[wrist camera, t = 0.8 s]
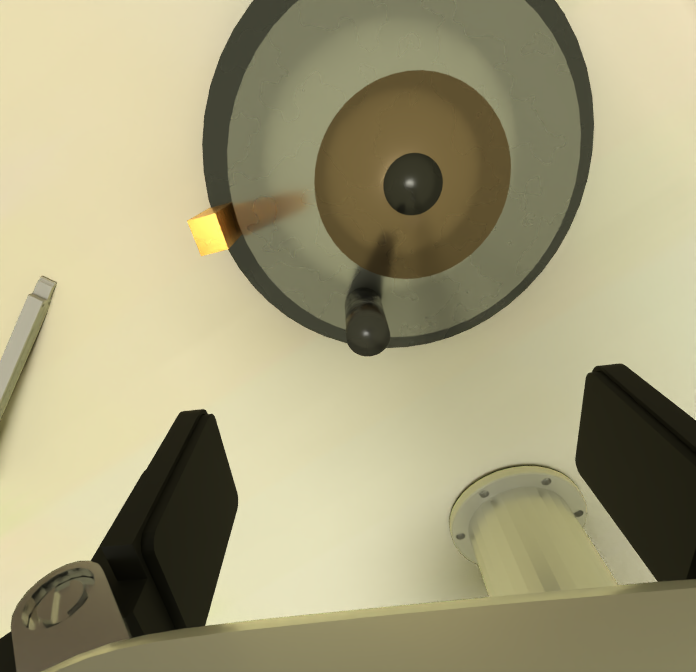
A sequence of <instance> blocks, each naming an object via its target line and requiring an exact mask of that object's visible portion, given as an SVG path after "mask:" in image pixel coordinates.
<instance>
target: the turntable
mask: <svg viewBox="0 0 696 672" xmlns="http://www.w3.org/2000/svg"><path fill="white" fill-rule="evenodd" d="M580 141H581V128H580V114H579V105H578V100H577V96H576V91H575V86H574V82H573V79H572V76H571V73H570V70H569V67H568V65H567V62H566V59H565V57H564V55H563V53H562V51H561V49H560V47H559V45H558V43H557V41H556V39H555V37H554V35H553V34H552V32H551V31H550V30H549V28H548V27H547V26H546V24H545V23H544V21H543V20H542V19H541V17H540V16H539V15H538V13H537V12H536V11H535V10H534V9H533V8H532V7H531V6H530V5H529V4H528V3H527V2H526V1H525V0H298V1H297V2H296V3H295V4H293V5H292V6H291V7H290V8H289V9H288V11H287V12H286V13H285V14H284V15H283V16H282V17H281V18H280V19H279V20H278V21H277V22H276V23H275V25H274V26H273V27H272V28H271V30H270V31H269V33H268V34H267V36H266V37H265V38H264V40H263V41H262V43H261V44H260V46H259V47H258V48H257V50H256V52H255V54H254V56H253V58H252V60H251V62H250V64H249V66H248V68H247V70H246V72H245V74H244V76H243V79H242V82H241V85H240V87H239V90H238V93H237V96H236V99H235V103H234V107H233V112H232V116H231V121H230V125H229V136H228V147H227V163H228V180H229V186H230V193H231V199H232V203H233V207H234V210H235V214H236V217H237V221H238V224H239V226H240V229H241V231H242V233H243V236H244V238H245V240H246V243H247V245H248V246H249V248H250V250H251V252H252V253H253V255H254V257H255V259H256V260H257V262H258V264H259V265H260V266H261V268H262V269H263V270H264V272H265V273H266V274H267V276H268V277H269V278H270V280H271V281H272V282H273V283H274V284H275V285H276V286H277V287H278V288H279V289H280V290H281V291H282V292H283V293H284V294H285V295H286V296H287V297H288V298H290V299H291V300H292V301H293V302H295V303H296V304H297V305H298V306H300V307H301V308H302V309H304V310H306V311H307V312H309V313H310V314H312V315H314V316H315V317H317V318H319V319H321V320H323V321H325V322H327V323H330V324H332V325H334V326H336V327H339V328H342V329H346V338H347V343H348V345H349V347H350V348H351V350H352V351H354V352H355V353H357V354H359V355H362V356H373V355H377V354H379V353H381V352H382V351H383V350H384V349H385V348H386V347H387V345H388V344H389V341H390V337H406V336H416V335H422V334H428V333H433V332H436V331H440V330H443V329H446V328H450V327H453V326H455V325H457V324H460V323H462V322H464V321H467V320H469V319H471V318H473V317H475V316H476V315H478V314H480V313H482V312H483V311H485V310H487V309H488V308H490V307H491V306H493V305H494V304H495V303H497V302H498V301H500V300H501V299H502V298H504V297H505V296H506V295H507V294H508V293H509V292H511V291H512V290H513V289H514V288H515V287H516V286H517V285H518V284H519V283H521V281H522V280H523V279H524V278H525V277H526V276H527V275H528V274H529V273H530V271H531V270H532V269H533V268H534V267H535V266H536V264H537V263H538V261H539V260H540V259H541V257H542V256H543V254H544V253H545V252H546V250H547V249H548V247H549V246H550V244H551V242H552V240H553V238H554V237H555V235H556V233H557V231H558V229H559V228H560V225H561V223H562V221H563V218H564V216H565V213H566V211H567V209H568V206H569V203H570V200H571V196H572V193H573V189H574V186H575V183H576V177H577V171H578V165H579V159H580Z"/></svg>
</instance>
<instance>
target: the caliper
mask: <svg viewBox="0 0 696 672" xmlns="http://www.w3.org/2000/svg"><path fill="white" fill-rule="evenodd" d="M55 286H56V282H54V281H52V280H50V279H48V278H45V277H43V276H41V277H40V279H39V280H38V282H37V284H36V286H35V289H34V291H33V293H32V294H29V295H28V297H27V299H26V302H25V304H24V306H23V309H22V311H21V313H20V316H19V318H18V320H17V323H16V325H15V328H14V330H13V332H12V335H11V337H10V339H9V342H8V344H7V346H6V349H5V351H4V354H3V356H2V358H1V361H0V420H1V418H2V416H3V413H4V411H5V409H6V406H7V404H8V402H9V399H10V397H11V395H12V393H13V390H14V388H15V386H16V383H17V381H18V379H19V376H20V374H21V372H22V369H23V367H24V365H25V363H26V360H27V358H28V356H29V353H30V351H31V349H32V347H33V344H34V342H35V340H36V337H37V335H38V333H39V331H40V328H41V326H42V324H43V321H44V319H45V317H46V314H47V311H48V308H49V305H50V302H51V299H52V298H51V296H52V293H53V291H54V289H55Z"/></svg>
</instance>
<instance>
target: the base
mask: <svg viewBox="0 0 696 672" xmlns="http://www.w3.org/2000/svg"><path fill="white" fill-rule="evenodd" d="M297 1H298V0H254V1H253V2H252V3H251V4H250V6H249V7H248V9H247V10H246V12H245V13H244V15H243V16H242V18H241V19H240V21H239V22H238V24H237V25H236V27H235V28H234V30H233V32H232V34H231V36H230V38H229V40H228V42H227V44H226V46H225V48H224V50H223V52H222V54H221V56H220V59H219V62H218V65H217V68H216V70H215V73H214V76H213V79H212V82H211V85H210V90H209V95H208V100H207V105H206V110H205V115H204V129H203V143H202V146H203V165H204V175H205V181H206V187H207V193H208V198H209V202H210V205H211V208H209V209H207V210H205V211H203V212H202V213H200V214H198V215H196V216H195V217H193V218H191V219H190V220H188V221H187V222H188V224H189V227H190V229H191V232H192V234H193V237H194V239H195V242H196V244H197V247H198V249H199V252H200V254H201V256H203V255H207V254H211V253H215V252H219V251H223V250H227V249H228V250H229V252H230V253H231V255H232V257H233V258H234V260H235V262H236V263H237V265H238V267H239V268H240V270H241V271H242V272H243V273H244V275H245V276H246V277H247V279H248V280H249V281H250V282H251V284H252V285H253V286H254V287H255V288H256V289H257V290H258V291H259V292H260V293H261V294H262V295H263V296H264V297H265V298H266V299H267V300H268V301H269V302H270V303H271V304H272V305H274V306H275V307H276V308H277V309H279V310H280V311H281V312H282V313H284V314H285V315H286V316H288V317H289V318H291V319H293V320H294V321H296V322H297V323H299V324H301V325H302V326H304V327H306V328H308V329H310V330H312V331H315V332H317V333H319V334H321V335H323V336H326V337H329V338H332V339H335V340H339V341H342V342H345V343H347V338H346V329H342V328H339V327H336V326H334V325H332V324H330V323H327V322H325V321H323V320H321V319H319V318H317V317H315V316H314V315H312V314H310V313H309V312H307V311H306V310H304V309H302V308H301V307H300V306H298V305H297V304H296V303H295V302H293V301H292V300H291V299H290V298H288V297H287V296H286V295H285V294H284V293H283V292H282V291H281V290H280V289H279V288H278V287H277V286H276V285H275V284H274V283H273V282H272V281H271V280H270V278H269V277H268V276H267V274H266V273H265V272H264V270H263V269H262V268H261V266H260V265H259V264H258V262H257V260H256V259H255V257H254V255H253V253H252V252H251V250H250V248H249V246H248V245H247V243H246V240H245V238H244V236H243V233H242V231H241V229H240V226H239V224H238V221H237V217H236V214H235V210H234V207H233V203H232V199H231V193H230V186H229V180H228V163H227V147H228V136H229V125H230V121H231V116H232V112H233V107H234V103H235V99H236V96H237V93H238V90H239V87H240V85H241V82H242V79H243V76H244V74H245V72H246V70H247V68H248V66H249V64H250V62H251V60H252V58H253V56H254V54H255V52H256V50H257V48H258V47H259V46H260V44H261V43H262V41H263V40H264V38H265V37H266V36H267V34H268V33H269V31H270V30H271V28H272V27H273V26H274V25H275V23H276V22H277V21H278V20H279V19H280V18H281V17H282V16H283V15H284V14H285V13H286V12H287V11H288V9H289V8H290V7H291V6H292V5H293V4H295V3H296V2H297ZM525 1H526V2H527V3H528V4H529V5H530V6H531V7H532V8H533V9H534V10H535V11H536V12H537V13H538V15H539V16H540V17H541V19H542V20H543V21H544V23H545V24H546V26H547V27H548V28H549V30H550V31H551V32H552V34H553V35H554V37H555V39H556V41H557V43H558V45H559V47H560V49H561V51H562V53H563V55H564V57H565V59H566V62H567V65H568V67H569V70H570V73H571V76H572V79H573V82H574V86H575V91H576V96H577V100H578V105H579V114H580V128H581V141H580V159H579V165H578V171H577V177H576V183H575V186H574V189H573V193H572V196H571V200H570V203H569V206H568V209H567V211H566V213H565V216H564V218H563V221H562V223H561V225H560V228H559V229H558V231H557V233H556V235H555V237H554V238H553V240H552V242H551V244H550V246H549V247H548V249H547V250H546V252H545V253H544V254H543V256H542V257H541V259H540V260H539V261H538V263H537V264H536V266H535V267H534V268H533V269H532V270H531V271H530V273H529V274H528V275H527V276H526V277H525V278H524V279H523V280H522V281H521V283H519V284H518V285H517V286H516V287H515V288H514V289H513V290H512V291H511V292H509V293H508V294H507V295H506V296H505V297H504V298H502V299H501V300H500V301H498V302H497V303H495V304H494V305H493V306H491V307H490V308H488V309H487V310H485V311H483V312H482V313H480V314H478V315H476V316H475V317H473V318H471V319H469V320H467V321H464V322H462V323H460V324H457V325H455V326H453V327H450V328H446V329H443V330H440V331H436V332H433V333H428V334H422V335H416V336H406V337H390V341H389V344H388V345H387V347H386V348H393V347H409V346H415V345H421V344H427V343H431V342H435V341H438V340H442V339H445V338H449V337H451V336H454V335H456V334H459V333H461V332H463V331H466V330H468V329H471V328H472V327H474V326H476V325H478V324H480V323H481V322H483V321H485V320H487V319H489V318H490V317H492V316H493V315H494V314H496V313H497V312H499V311H500V310H501V309H503V308H504V307H506V306H507V305H509V304H510V303H511V302H512V301H513V300H514V299H515V298H516V297H518V296H519V295H520V294H521V293H522V292H523V291H524V290H525V289H526V288H527V287H528V286H529V285H530V284H531V283H532V282H533V281H534V280H535V278H536V277H537V276H538V275H539V274H540V273H541V272H542V271H543V269H544V268H545V267H546V265H547V264H548V262H549V261H550V260H551V258H552V257H553V255H554V254H555V253H556V251H557V250H558V248H559V246H560V244H561V243H562V241H563V239H564V237H565V236H566V234H567V232H568V230H569V228H570V226H571V224H572V221H573V219H574V217H575V214H576V212H577V210H578V207H579V205H580V202H581V199H582V195H583V192H584V189H585V185H586V182H587V179H588V173H589V167H590V162H591V156H592V148H593V131H594V118H593V102H592V93H591V88H590V82H589V77H588V72H587V67H586V64H585V61H584V58H583V55H582V52H581V49H580V46H579V43H578V40H577V38H576V36H575V34H574V32H573V30H572V28H571V26H570V24H569V22H568V20H567V18H566V16H565V14H564V13H563V11H562V10H561V8H560V7H559V6H558V4H557V3H556V1H555V0H525Z"/></svg>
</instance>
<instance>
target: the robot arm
mask: <svg viewBox="0 0 696 672" xmlns="http://www.w3.org/2000/svg"><path fill="white" fill-rule="evenodd" d="M575 461H576V466H577V469H578V472H579V473H580V475H581V476H582V478H583V479H584V481H585V482H586V483H587V485H588V486H589V487H590V489H591V490H592V492H593V493H594V494H595V496H596V497H597V498H598V500H599V501H600V503H601V504H602V505H603V507H604V508H605V509H606V511H607V512H608V514H609V515H610V516H611V518H612V519H613V520H614V522H615V523H616V525H617V526H618V527H619V529H620V530H621V532H622V533H623V534H624V536H625V537H626V538H627V540H628V541H629V543H630V544H631V545H632V547H633V548H634V549H635V551H636V552H637V554H638V555H639V556H640V558H641V559H642V560H643V562H644V563H645V565H646V566H647V567H648V569H649V570H650V571H651V573H652V574H653V576H654V577H655V578H656V580H657V581H658V582H651V583H640V584H628V585H618V584H617V582H616V580H615V579H614V577H613V576H612V574H611V573H610V571H609V569H608V568H607V566H606V565H605V563H604V561H603V560H602V558H601V557H600V555H599V553H598V552H597V550H596V549H595V547H594V546H593V544H592V542H591V541H590V539H589V538H588V536H587V534H586V533H585V531H584V530H583V526H584V524H585V521H586V516H587V508H586V502H585V500H584V497H583V495H582V494H581V492H580V491H579V489H578V488H577V486H576V485H575V484H574V483H573V482H572V481H571V480H570V479H569V478H568V477H566V476H565V475H563V474H562V473H560V472H557V471H555V470H552V469H549V468H544V467H538V466H520V467H512V468H507V469H504V470H500V471H497V472H494V473H492V474H490V475H487V476H485V477H483V478H482V479H480V480H479V481H477V482H475V483H474V484H472V485H471V486H470V487H469V488H468V489H467V490H465V491H464V492H463V494H462V495H461V496H460V497H459V499H458V500H457V501H456V503H455V505H454V507H453V509H452V512H451V516H450V531H451V535H452V539H453V542H454V544H455V546H456V548H457V549H458V551H459V552H460V553H461V554H462V555H463V556H464V557H465V558H467V559H468V560H469V561H471V562H473V563H475V564H477V565H478V566H479V569H480V572H481V575H482V578H483V581H484V584H485V587H486V590H487V593H488V596H489V597H484V598H474V599H463V600H452V601H442V602H431V603H421V604H410V605H400V606H389V607H379V608H369V609H359V610H349V611H339V612H329V613H319V614H309V615H299V616H289V617H279V618H269V619H260V620H251V621H243V622H234V623H226V624H218V625H209V626H205V624H206V620H207V617H208V613H209V610H210V606H211V602H212V599H213V595H214V591H215V588H216V584H217V581H218V577H219V573H220V570H221V566H222V563H223V559H224V555H225V552H226V548H227V544H228V541H229V537H230V534H231V530H232V526H233V523H234V519H235V516H236V512H237V508H238V494H237V491H236V487H235V484H234V480H233V477H232V473H231V470H230V467H229V463H228V460H227V456H226V453H225V450H224V446H223V443H222V439H221V436H220V432H219V429H218V426H217V422H216V419H215V416H214V415H213V414H208V413H207V412H206V410H204V409H201V410H191V411H183V412H180V413H179V415H178V416H177V418H176V420H175V422H174V423H173V425H172V427H171V428H170V430H169V432H168V433H167V435H166V437H165V439H164V440H163V442H162V444H161V445H160V447H159V449H158V450H157V452H156V454H155V456H154V457H153V459H152V461H151V462H150V464H149V466H148V467H147V469H146V470H145V471H144V472H143V474H142V475H141V477H140V479H139V480H138V482H137V484H136V485H135V487H134V489H133V490H132V492H131V494H130V496H129V497H128V499H127V501H126V502H125V504H124V506H123V507H122V509H121V511H120V512H119V514H118V516H117V517H116V519H115V521H114V523H113V524H112V526H111V528H110V529H109V531H108V533H107V534H106V536H105V538H104V539H103V541H102V543H101V544H100V546H99V548H98V550H97V551H96V553H95V555H94V556H93V558H92V560H91V561H77V562H73V563H70V564H66V565H64V566H62V567H60V568H58V569H56V570H54V571H52V572H51V573H49V574H48V575H46V576H45V577H43V578H42V579H40V580H39V581H38V582H37V583H36V584H35V585H34V586H33V587H31V588H30V589H29V590H28V591H27V592H26V594H25V595H24V596H23V598H22V599H21V600H20V601H19V603H18V604H17V606H16V609H15V611H14V613H13V615H12V620H11V632H9V633H8V634H7V635H5V636H4V637H2V638H1V639H0V672H696V420H694V419H693V418H692V417H691V416H689V415H688V414H687V413H685V412H684V411H683V410H682V409H680V408H679V407H678V406H677V405H675V404H674V403H673V402H671V401H670V400H669V399H668V398H666V397H665V396H664V395H662V394H661V393H660V392H659V391H657V390H656V389H655V388H653V387H652V386H651V385H650V384H648V383H647V382H646V381H645V380H643V379H642V378H641V377H639V376H638V375H637V374H636V373H634V372H633V371H632V370H630V369H629V368H628V367H627V366H625V365H623V364H612V365H603V366H596V367H595V368H594V369H593V371H592V373H588V374H587V376H586V381H585V389H584V396H583V404H582V412H581V419H580V427H579V435H578V442H577V450H576V458H575Z"/></svg>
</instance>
